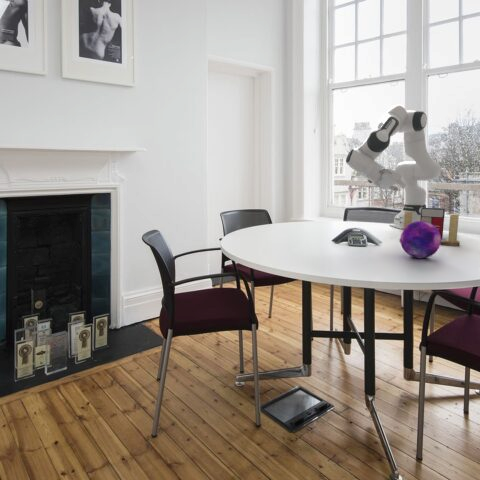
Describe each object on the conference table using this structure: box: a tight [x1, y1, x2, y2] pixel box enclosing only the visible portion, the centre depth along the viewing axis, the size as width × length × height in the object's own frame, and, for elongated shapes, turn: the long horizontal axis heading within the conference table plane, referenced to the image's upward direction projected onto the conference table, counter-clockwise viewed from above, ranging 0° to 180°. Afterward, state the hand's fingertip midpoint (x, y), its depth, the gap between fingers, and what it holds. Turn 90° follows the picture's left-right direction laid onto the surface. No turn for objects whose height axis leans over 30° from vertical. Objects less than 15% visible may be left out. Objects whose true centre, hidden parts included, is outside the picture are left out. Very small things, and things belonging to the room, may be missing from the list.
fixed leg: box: [446, 213, 460, 243], centre depth 206 cm, size 5×5×13 cm
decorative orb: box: [399, 221, 441, 259], centre depth 176 cm, size 15×15×15 cm
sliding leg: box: [403, 211, 413, 230], centre depth 214 cm, size 5×5×13 cm
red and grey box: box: [420, 207, 446, 238], centre depth 228 cm, size 11×4×15 cm, turn 62°
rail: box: [399, 237, 460, 247], centre depth 211 cm, size 26×7×2 cm, turn 65°
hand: (401, 188), depth 211 cm, fingers open, 8 cm apart
